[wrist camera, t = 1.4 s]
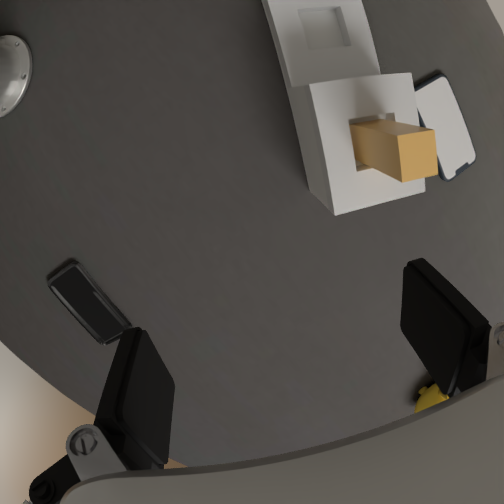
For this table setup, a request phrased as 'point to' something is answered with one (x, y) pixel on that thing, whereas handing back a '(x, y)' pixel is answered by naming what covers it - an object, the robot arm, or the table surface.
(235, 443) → the table surface
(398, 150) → the plug
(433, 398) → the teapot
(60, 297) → the phone
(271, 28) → the white stepped socket block
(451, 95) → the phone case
